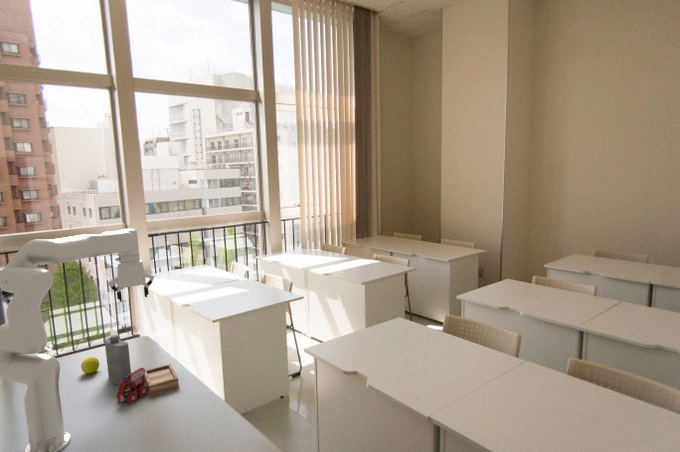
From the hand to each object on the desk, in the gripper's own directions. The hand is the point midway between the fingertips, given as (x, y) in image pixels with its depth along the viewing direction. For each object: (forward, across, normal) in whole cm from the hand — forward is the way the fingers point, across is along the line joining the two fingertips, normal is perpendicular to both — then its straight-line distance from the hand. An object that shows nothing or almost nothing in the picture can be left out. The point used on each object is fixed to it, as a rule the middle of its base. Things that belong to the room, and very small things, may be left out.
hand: (133, 298), depth 176 cm
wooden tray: (+36, +6, -9) cm, 38 cm away
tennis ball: (+36, -18, +22) cm, 46 cm away
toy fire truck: (+37, -5, -14) cm, 39 cm away
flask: (+36, -8, +6) cm, 38 cm away
